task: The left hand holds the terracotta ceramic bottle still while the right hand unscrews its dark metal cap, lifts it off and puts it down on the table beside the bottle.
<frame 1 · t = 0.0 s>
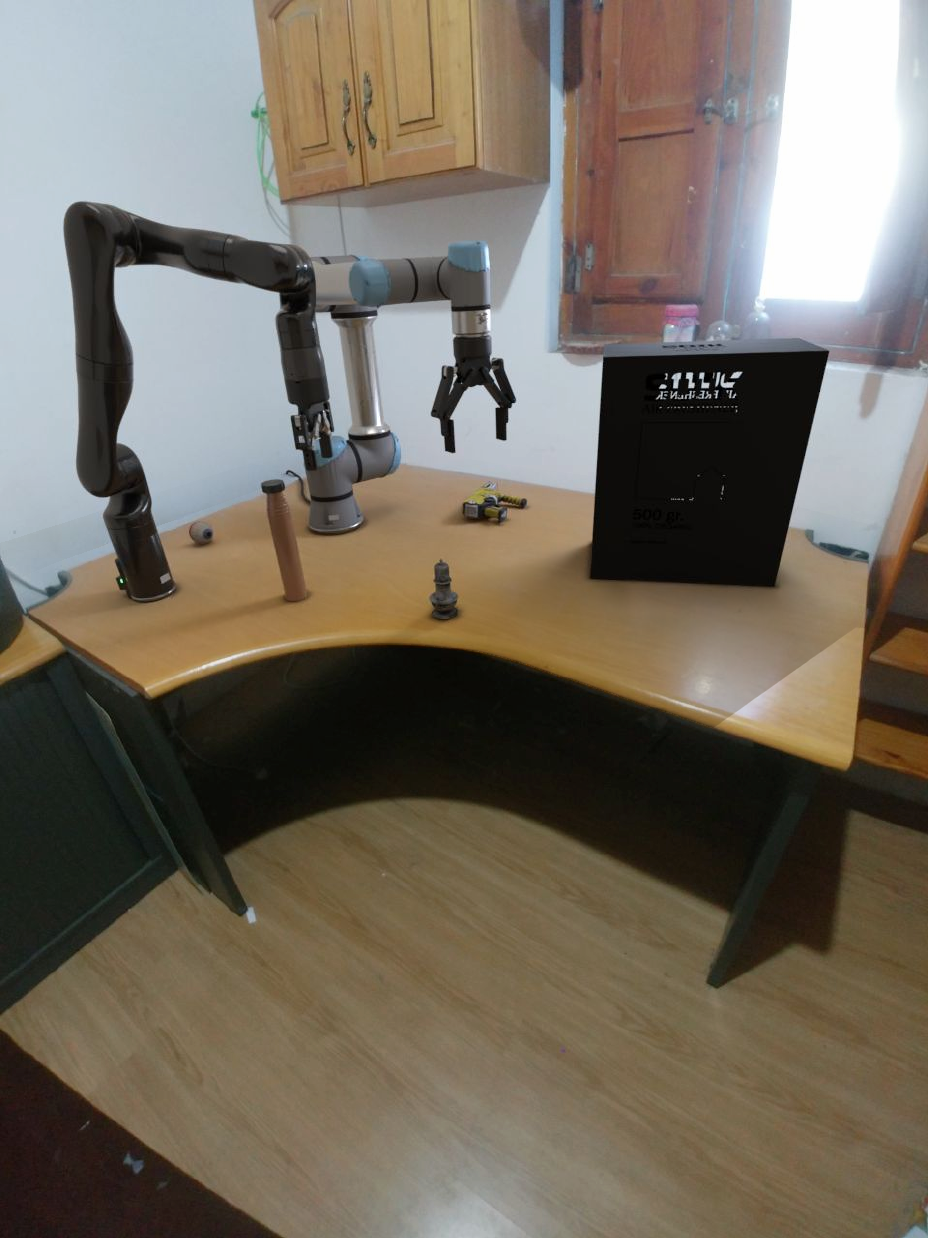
left hand: (320, 463, 116), 29 cm above the table, tool pointing down, fingers open, 8 cm apart
right hand: (476, 445, 127), 28 cm above the table, tool pointing down, fingers open, 13 cm apart
cardboard box: (675, 562, 137), on the table
toy gun: (499, 508, 174), on the table
eyeball: (204, 543, 163), on the table
cap: (272, 484, 120), point 25 cm above the table, screwed on, not yet turned
bottle: (296, 596, 133), on the table
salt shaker: (445, 613, 123), on the table
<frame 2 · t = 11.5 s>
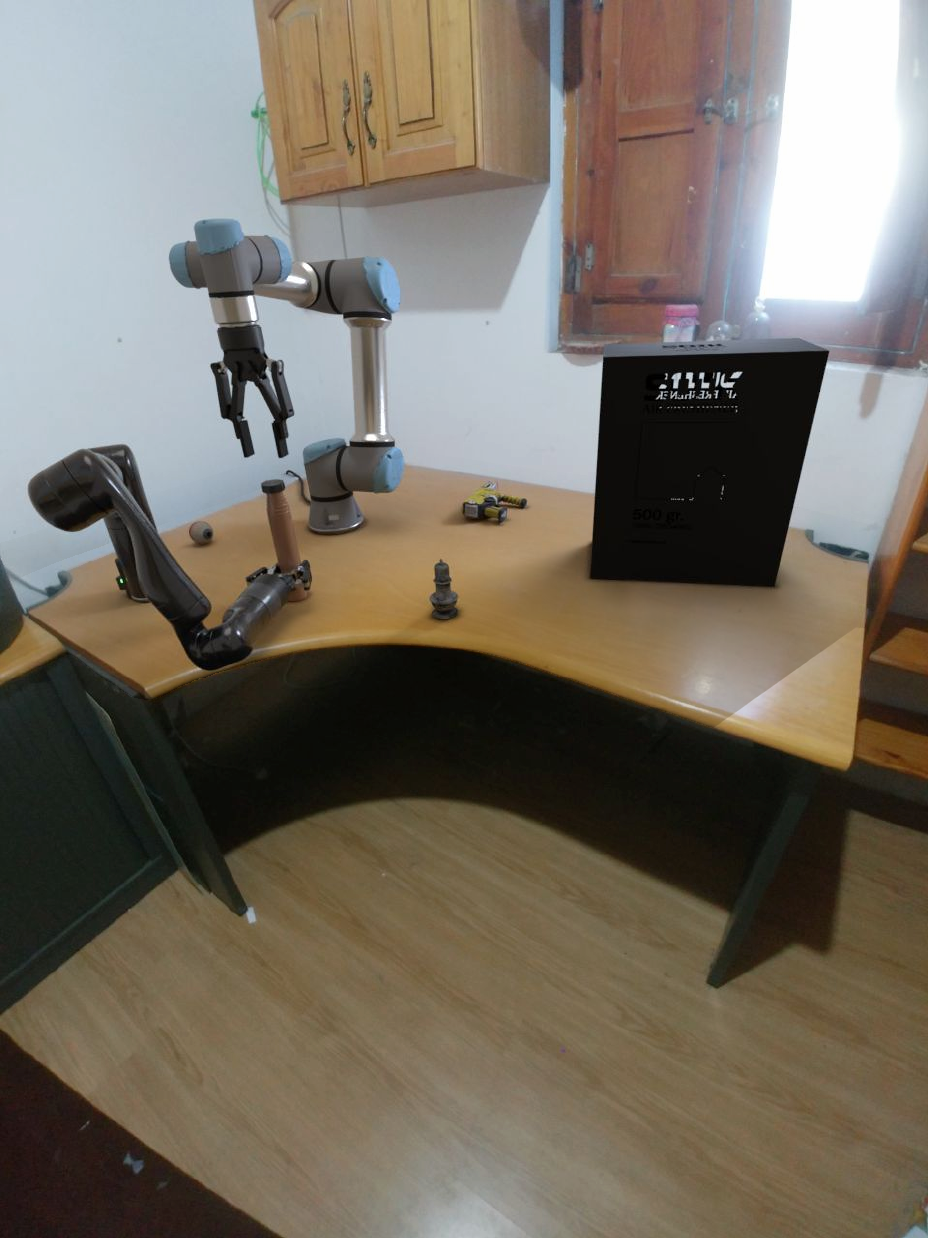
left hand: (295, 563, 132), 7 cm above the table, tool horizontal, fingers closed on bottle, 4 cm apart
right hand: (266, 455, 117), 31 cm above the table, tool pointing down, fingers open, 7 cm apart
bottle: (296, 596, 133), on the table, touching left hand
everything else where it was.
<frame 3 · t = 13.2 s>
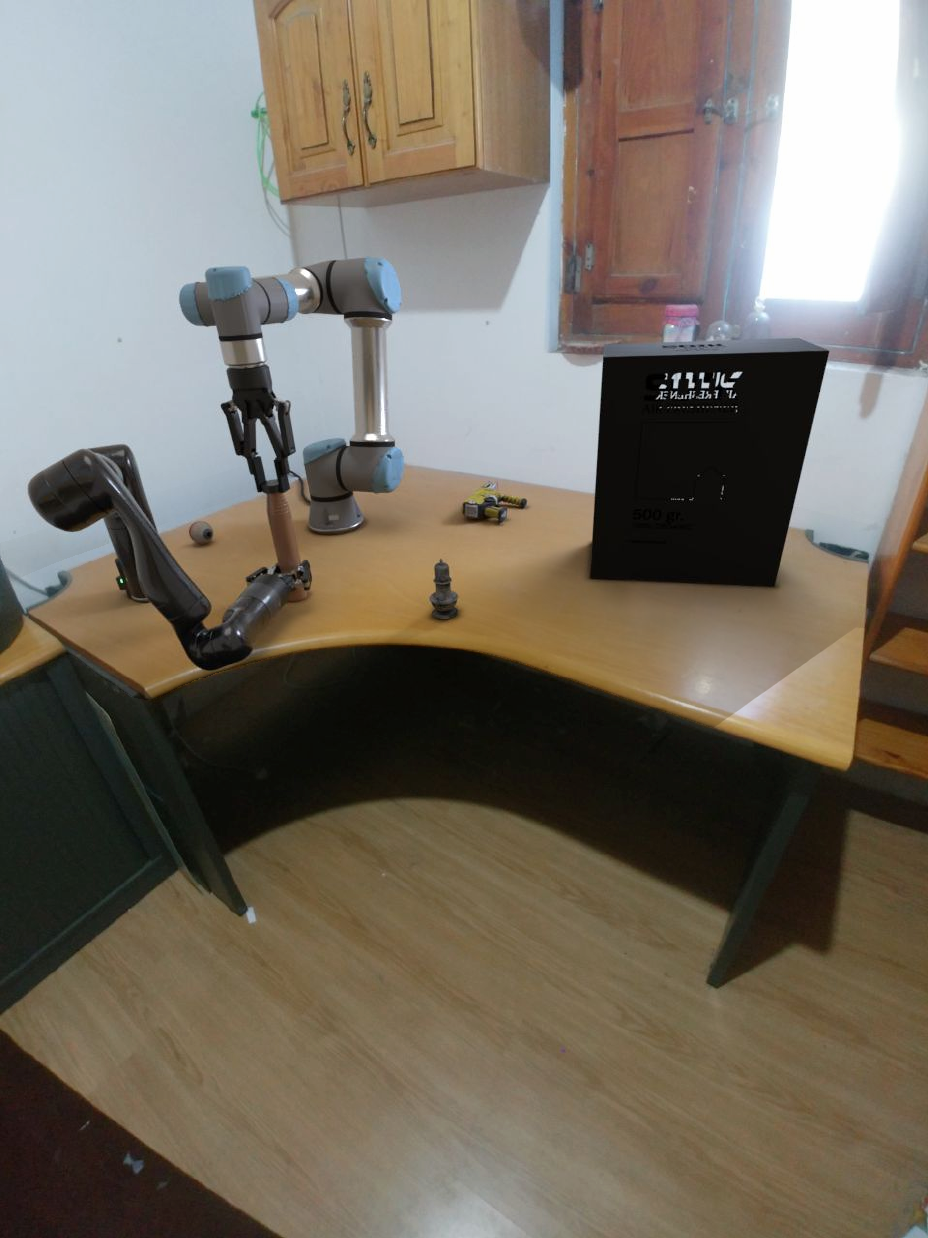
left hand: (295, 563, 132), 7 cm above the table, tool horizontal, fingers closed on bottle, 4 cm apart
right hand: (273, 490, 121), 24 cm above the table, tool pointing down, fingers closed on cap, 4 cm apart
cap: (272, 484, 120), point 25 cm above the table, screwed on, not yet turned, touching right hand
bottle: (296, 596, 133), on the table, touching left hand
everything else where it was.
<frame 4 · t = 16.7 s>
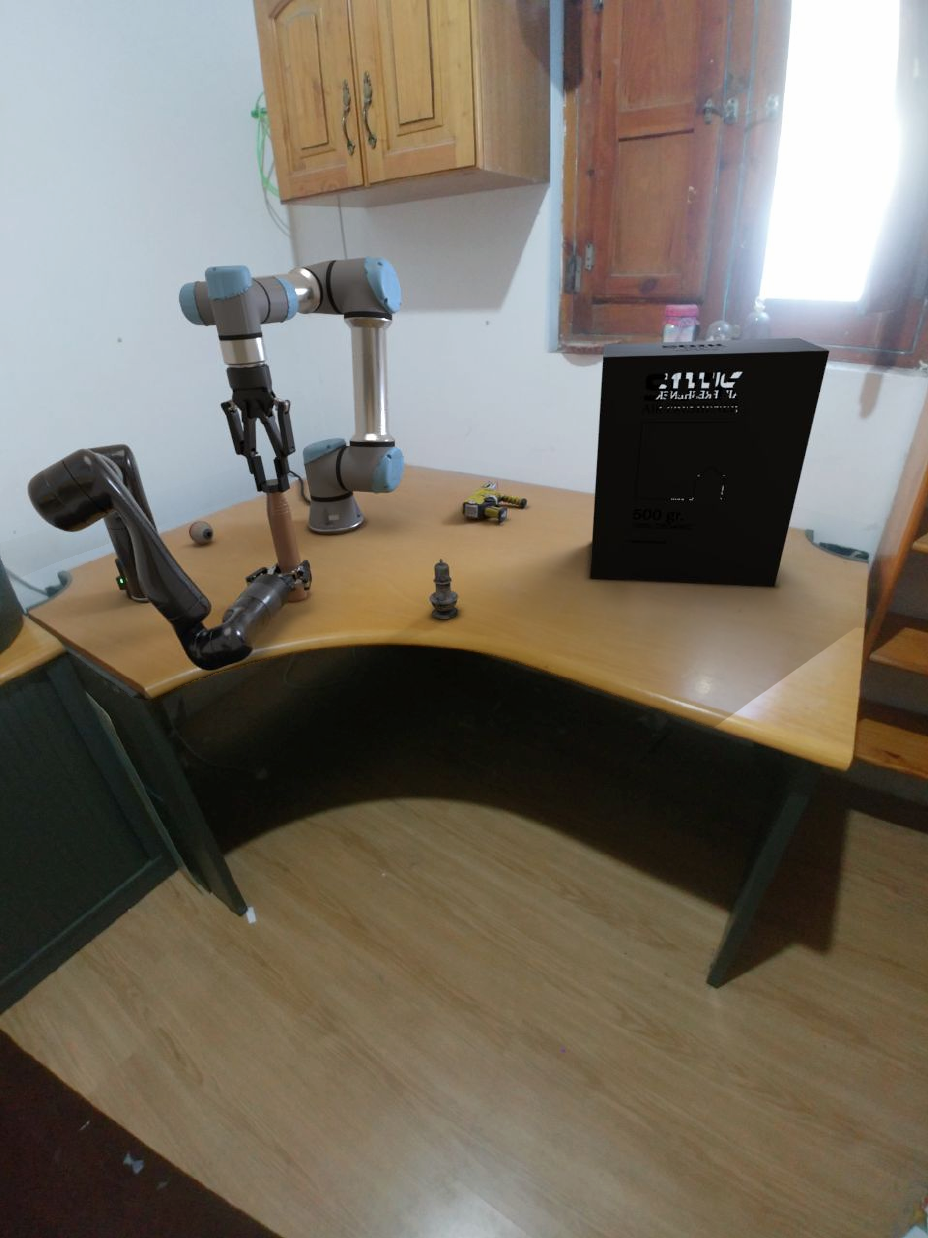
left hand: (295, 563, 131), 7 cm above the table, tool horizontal, fingers closed on bottle, 4 cm apart
right hand: (273, 489, 120), 24 cm above the table, tool pointing down, fingers closed on cap, 4 cm apart
cap: (272, 483, 120), point 25 cm above the table, turned 122° so far, risen 0.1 cm, still on its thread, touching right hand
bottle: (296, 596, 133), on the table, touching left hand
everything else where it was.
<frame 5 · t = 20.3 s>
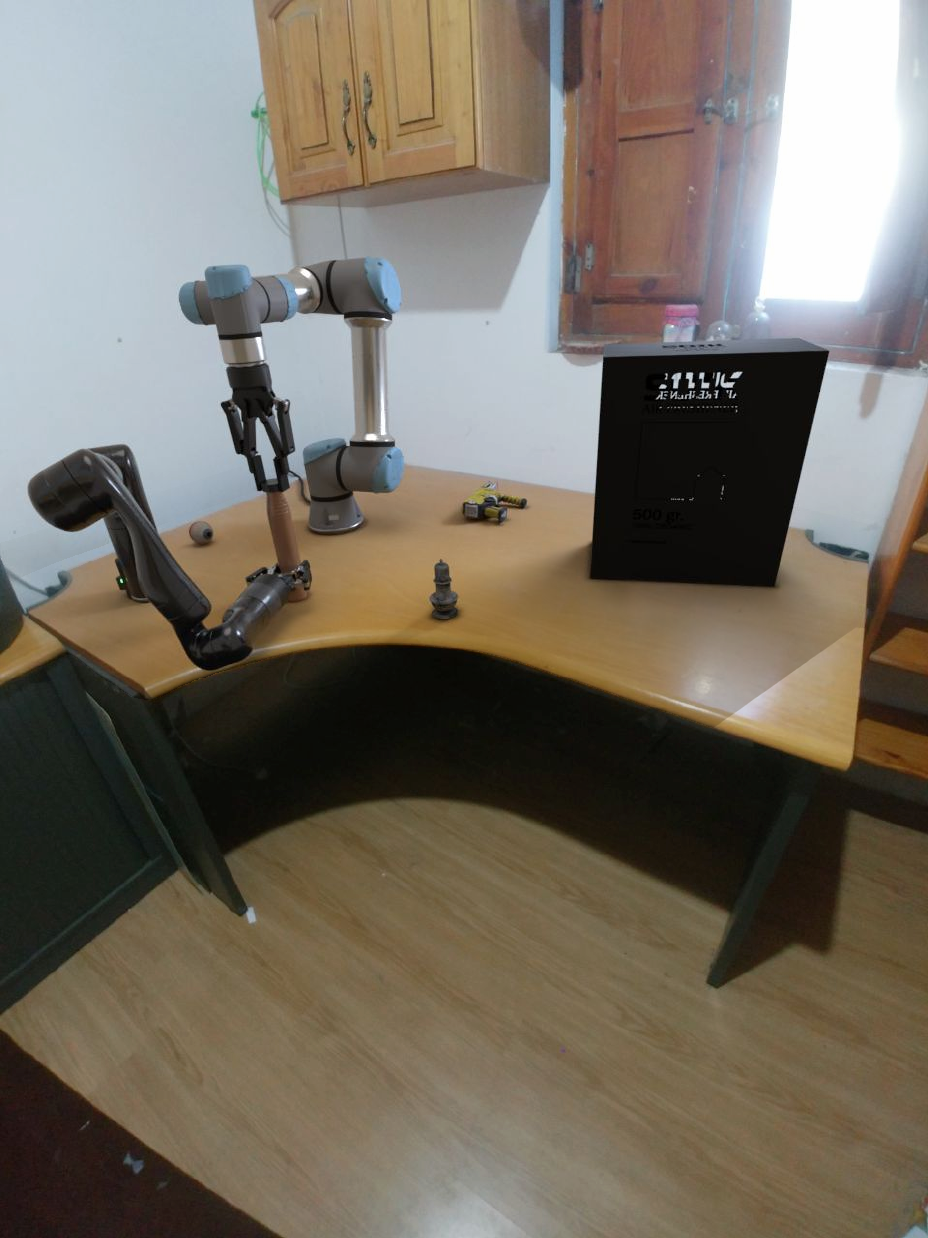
left hand: (295, 563, 131), 7 cm above the table, tool horizontal, fingers closed on bottle, 4 cm apart
right hand: (273, 489, 120), 24 cm above the table, tool pointing down, fingers closed on cap, 4 cm apart
cap: (272, 482, 120), point 26 cm above the table, turned 243° so far, risen 0.2 cm, still on its thread, touching right hand
bottle: (296, 596, 133), on the table, touching left hand
everything else where it was.
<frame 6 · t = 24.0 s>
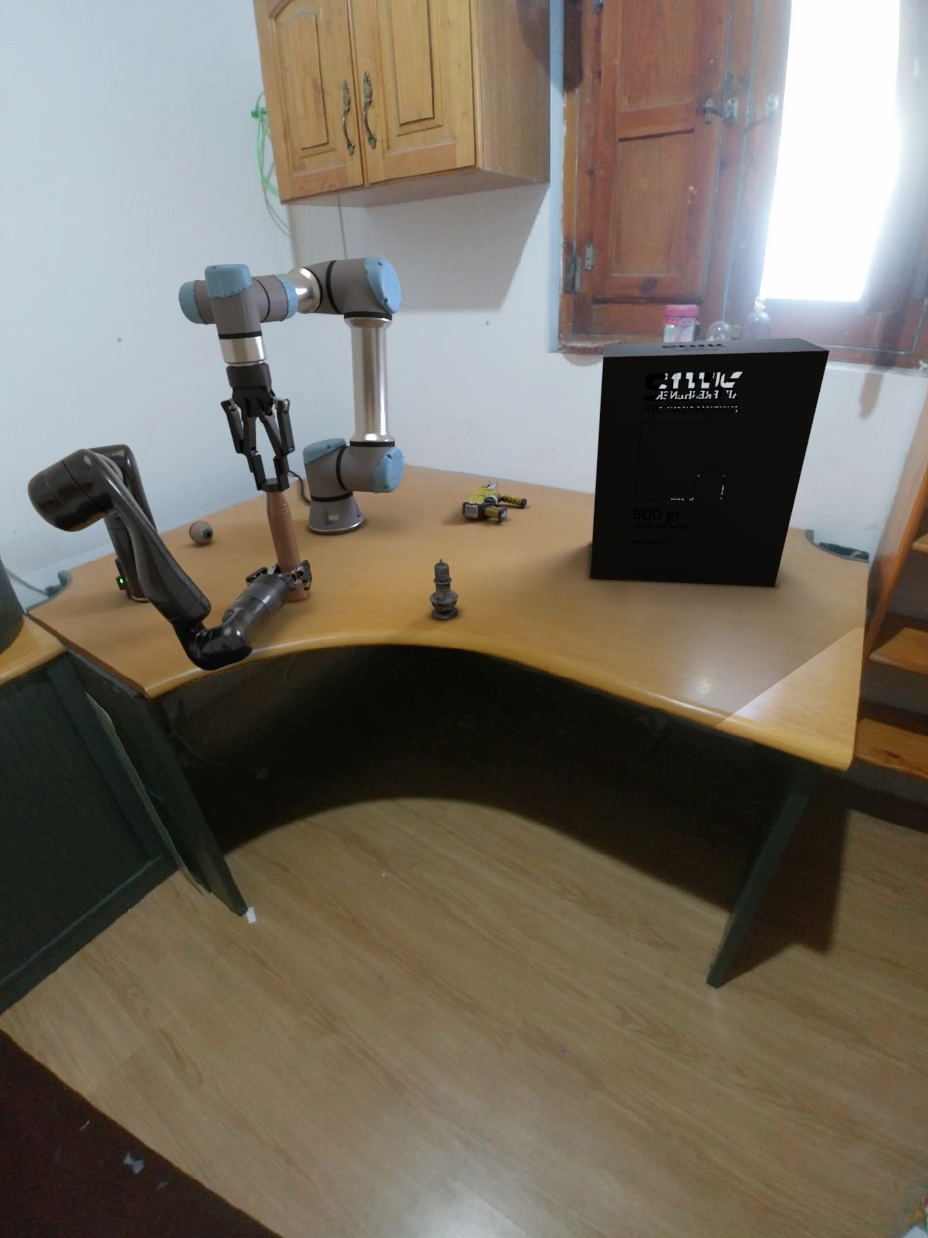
left hand: (295, 563, 131), 7 cm above the table, tool horizontal, fingers closed on bottle, 4 cm apart
right hand: (273, 488, 120), 24 cm above the table, tool pointing down, fingers closed on cap, 4 cm apart
cap: (272, 482, 120), point 26 cm above the table, turned 365° so far, risen 0.3 cm, still on its thread, touching right hand
bottle: (296, 596, 133), on the table, touching left hand
everything else where it was.
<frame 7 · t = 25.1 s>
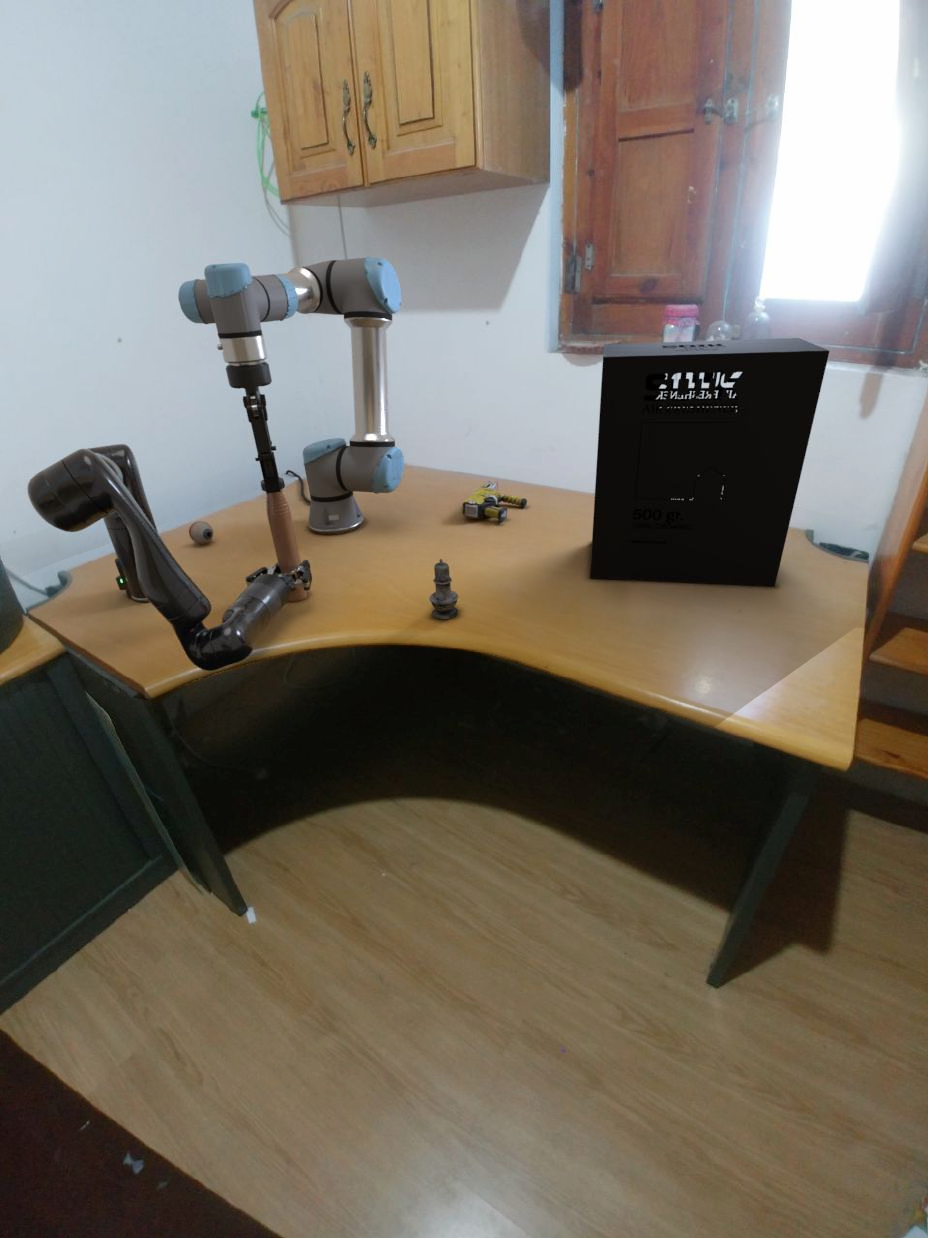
left hand: (295, 563, 131), 7 cm above the table, tool horizontal, fingers closed on bottle, 4 cm apart
right hand: (273, 488, 120), 25 cm above the table, tool pointing down, fingers closed on cap, 4 cm apart
cap: (272, 481, 120), point 26 cm above the table, off its thread, touching right hand
bottle: (296, 596, 133), on the table, touching left hand
everything else where it was.
when the right hand's fingers open (1 cm above the table, at t = 32.3 s): cap drops 1 cm, point 1 cm above the table.
when the left hand's fingers open (7 cm above the table, at t = 33.5 s): bottle stays where it is, on the table.
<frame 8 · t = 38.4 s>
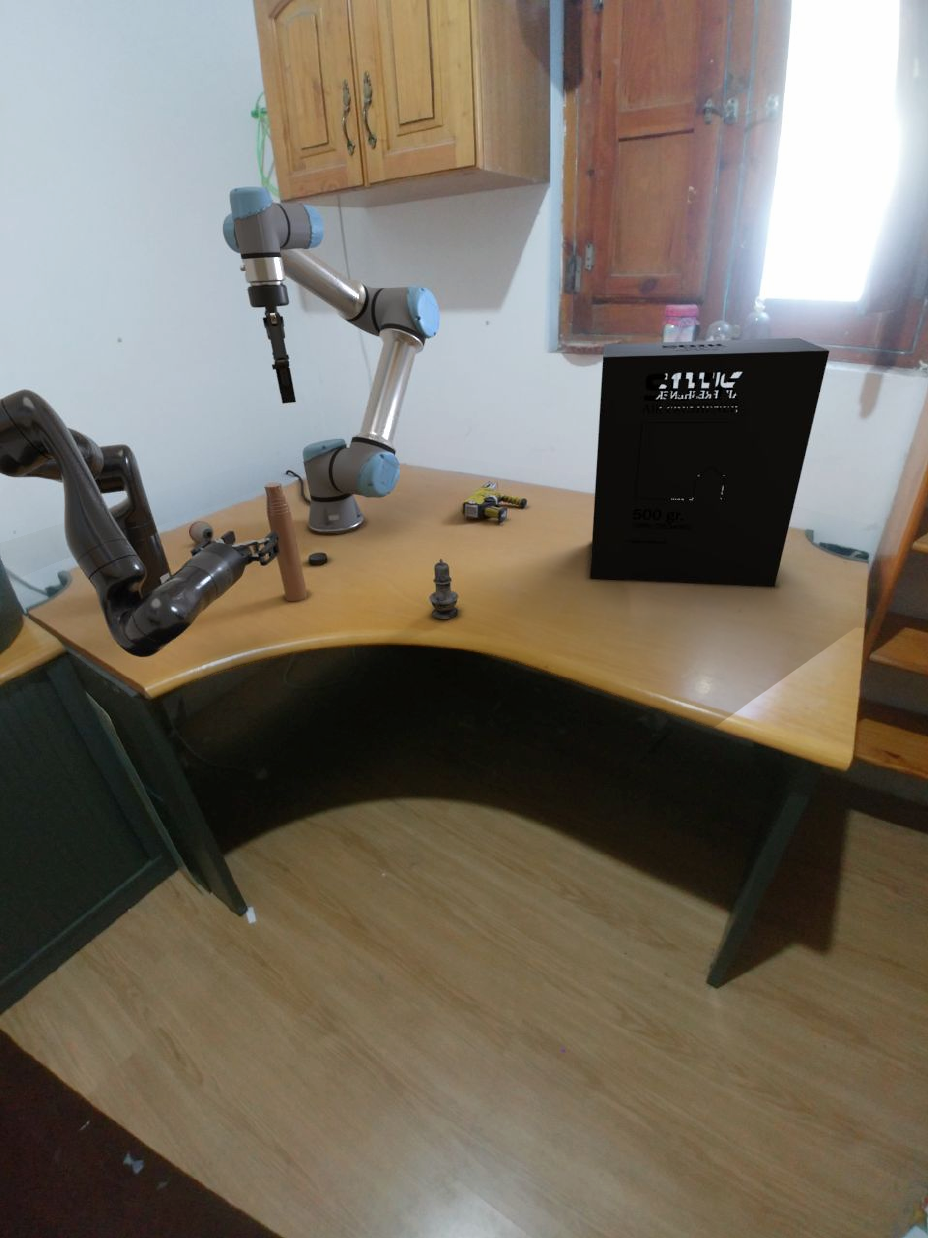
left hand: (254, 535, 113), 19 cm above the table, tool horizontal, fingers open, 8 cm apart
right hand: (287, 397, 129), 39 cm above the table, tool pointing down, fingers open, 13 cm apart
cap: (317, 557, 148), point 1 cm above the table, off its thread
bottle: (296, 596, 133), on the table
everything else where it was.
at the end: cap came off its thread; cap point 1.3 cm above the table; the left hand is holding nothing; the right hand is holding nothing; bottle tilted 0°; bottle moved 0.0 cm from its start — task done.
